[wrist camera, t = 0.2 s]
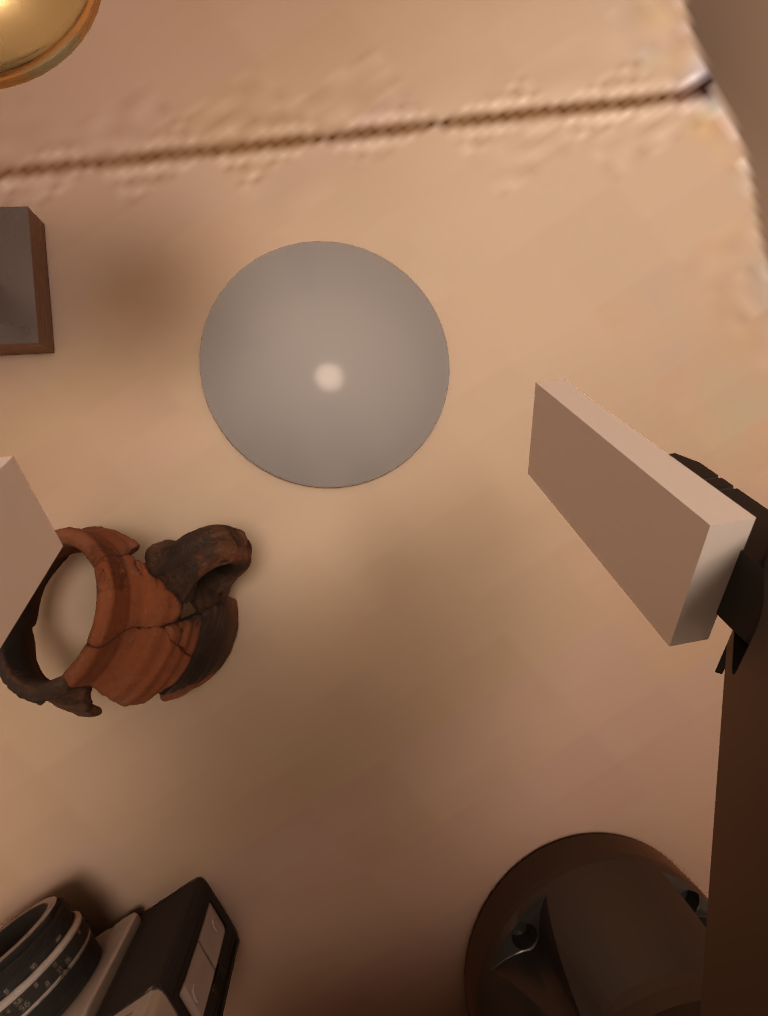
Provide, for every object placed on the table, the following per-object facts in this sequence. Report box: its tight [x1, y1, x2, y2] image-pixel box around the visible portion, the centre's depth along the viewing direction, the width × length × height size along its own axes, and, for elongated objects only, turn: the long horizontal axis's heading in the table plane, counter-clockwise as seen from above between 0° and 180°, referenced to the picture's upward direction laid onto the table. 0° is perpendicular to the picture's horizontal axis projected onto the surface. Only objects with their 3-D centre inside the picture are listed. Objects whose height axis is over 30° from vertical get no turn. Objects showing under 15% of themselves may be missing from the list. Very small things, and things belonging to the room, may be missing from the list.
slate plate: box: [200, 241, 449, 488], centre depth 29 cm, size 14×14×1 cm
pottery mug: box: [0, 525, 252, 717], centre depth 25 cm, size 12×10×8 cm
